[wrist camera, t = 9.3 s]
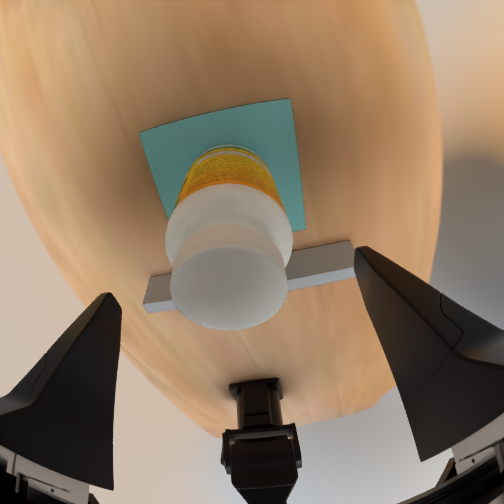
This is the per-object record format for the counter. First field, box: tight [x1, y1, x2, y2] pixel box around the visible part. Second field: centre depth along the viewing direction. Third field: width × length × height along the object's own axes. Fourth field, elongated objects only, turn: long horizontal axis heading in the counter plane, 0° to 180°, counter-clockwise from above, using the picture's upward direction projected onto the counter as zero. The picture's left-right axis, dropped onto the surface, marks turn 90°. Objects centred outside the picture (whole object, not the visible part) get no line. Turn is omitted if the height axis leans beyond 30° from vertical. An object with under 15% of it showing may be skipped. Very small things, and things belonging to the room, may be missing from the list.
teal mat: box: [139, 98, 306, 232], centre depth 17 cm, size 9×9×1 cm
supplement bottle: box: [165, 145, 293, 331], centre depth 13 cm, size 5×5×10 cm
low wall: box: [142, 240, 356, 313], centre depth 20 cm, size 1×16×3 cm, turn 100°
